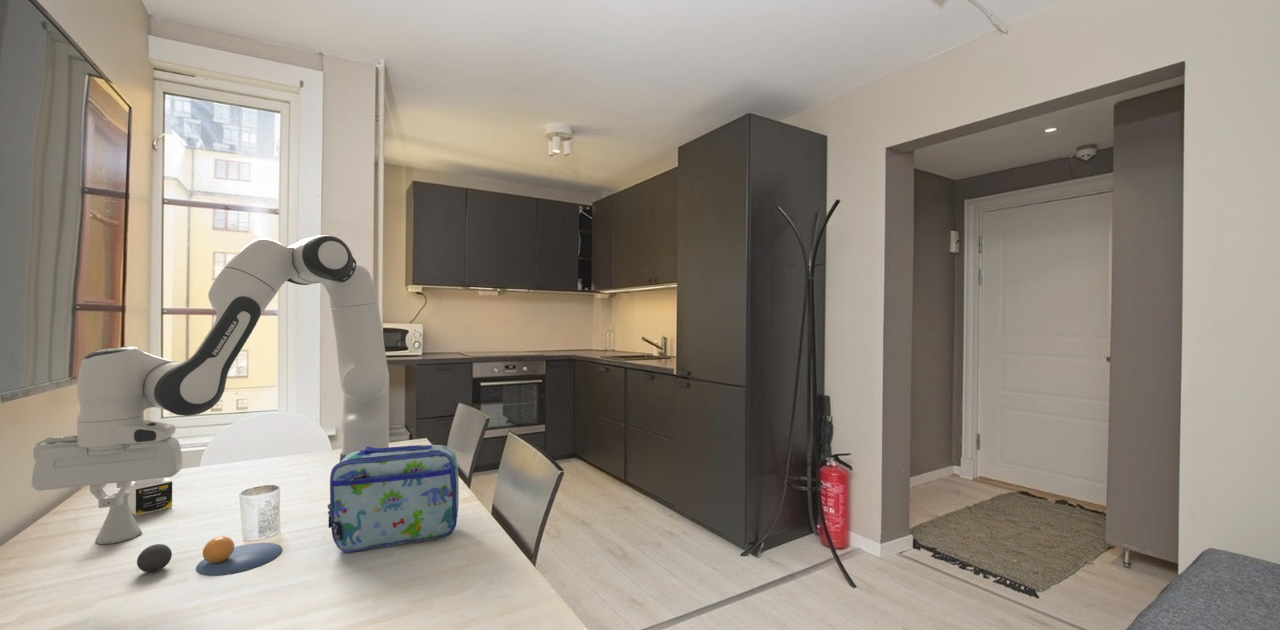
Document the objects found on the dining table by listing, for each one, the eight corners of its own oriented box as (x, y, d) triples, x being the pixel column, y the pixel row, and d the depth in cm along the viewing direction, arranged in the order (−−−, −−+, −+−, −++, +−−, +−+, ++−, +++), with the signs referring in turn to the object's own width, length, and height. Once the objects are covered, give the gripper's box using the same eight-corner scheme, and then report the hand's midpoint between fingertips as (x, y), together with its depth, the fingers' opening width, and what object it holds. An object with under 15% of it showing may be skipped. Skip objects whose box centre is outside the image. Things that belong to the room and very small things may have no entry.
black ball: (139, 547, 103) (144, 572, 102) (130, 554, 98) (136, 580, 98) (171, 537, 105) (177, 561, 105) (164, 543, 101) (170, 568, 101)
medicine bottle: (135, 516, 129) (135, 468, 129) (126, 510, 133) (126, 463, 133) (172, 507, 135) (173, 461, 135) (162, 502, 139) (163, 457, 139)
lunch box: (323, 558, 107) (324, 457, 107) (337, 537, 118) (338, 444, 118) (456, 543, 115) (457, 448, 115) (459, 524, 125) (459, 437, 125)
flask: (112, 546, 112) (112, 500, 112) (86, 543, 114) (87, 498, 114) (150, 533, 119) (150, 489, 119) (125, 530, 121) (125, 487, 121)
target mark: (287, 539, 116) (287, 538, 116) (275, 566, 104) (275, 565, 104) (208, 551, 110) (208, 550, 110) (185, 581, 98) (185, 580, 98)
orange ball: (200, 552, 106) (226, 560, 108) (193, 562, 102) (220, 571, 103) (217, 529, 107) (242, 537, 109) (210, 538, 103) (236, 547, 105)
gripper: (22, 442, 91) (22, 521, 91) (174, 431, 100) (173, 503, 100) (44, 435, 96) (43, 509, 96) (185, 425, 105) (185, 493, 105)
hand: (111, 506), depth 98 cm, fingers closed
